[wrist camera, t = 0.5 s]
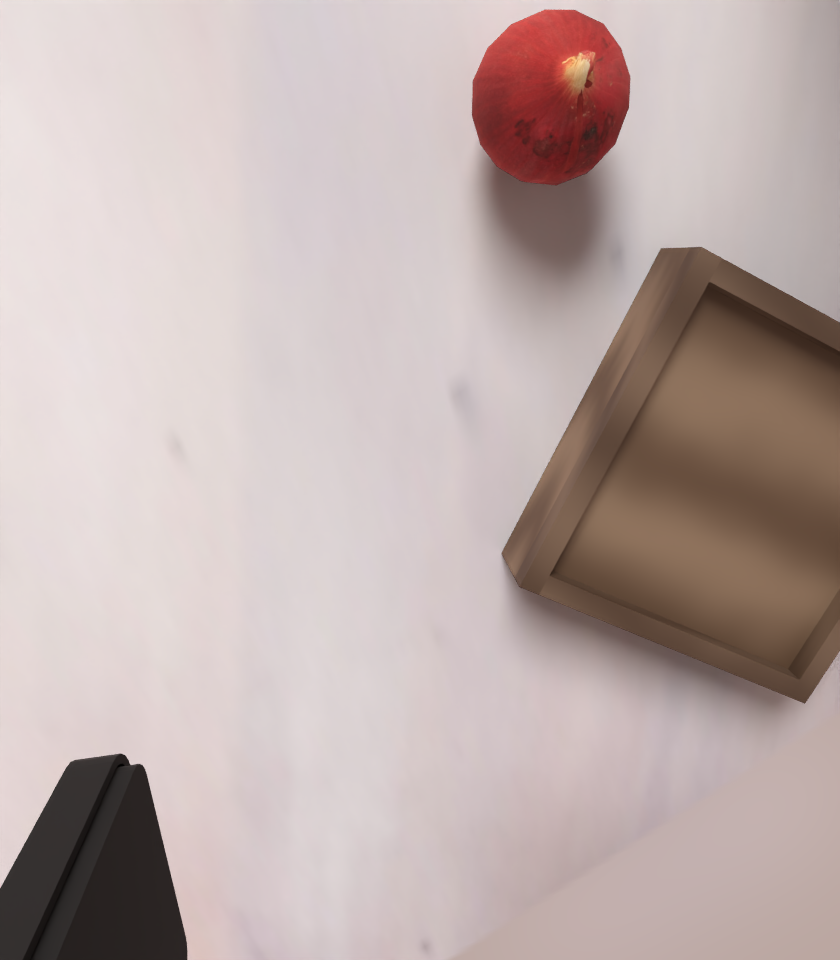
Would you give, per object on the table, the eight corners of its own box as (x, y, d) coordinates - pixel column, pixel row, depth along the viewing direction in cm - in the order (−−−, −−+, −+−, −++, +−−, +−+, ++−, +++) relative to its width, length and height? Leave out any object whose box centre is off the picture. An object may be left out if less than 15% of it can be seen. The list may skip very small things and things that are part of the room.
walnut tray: (661, 248, 34) (701, 247, 30) (931, 393, 37) (998, 409, 33) (501, 553, 37) (519, 586, 33) (761, 661, 41) (805, 703, 37)
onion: (610, 161, 33) (691, 131, 25) (486, 213, 33) (530, 199, 25) (568, 19, 31) (642, -60, 23) (438, 73, 31) (469, 12, 23)
